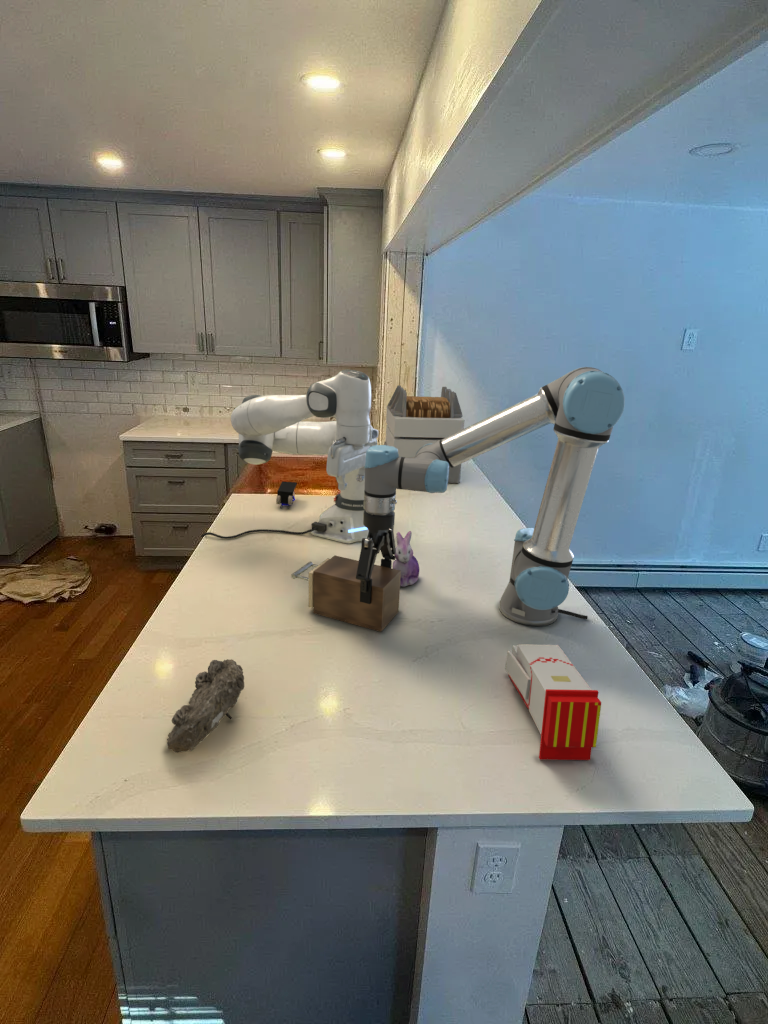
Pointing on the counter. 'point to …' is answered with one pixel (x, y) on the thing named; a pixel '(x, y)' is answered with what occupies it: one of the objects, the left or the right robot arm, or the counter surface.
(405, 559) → the figurine
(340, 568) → the cabinet
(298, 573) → the drawer
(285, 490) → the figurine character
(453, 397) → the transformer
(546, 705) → the toy
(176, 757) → the counter surface
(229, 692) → the fossil
